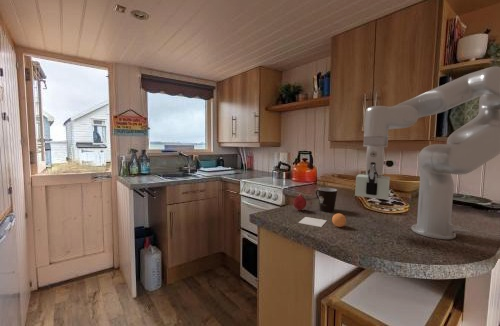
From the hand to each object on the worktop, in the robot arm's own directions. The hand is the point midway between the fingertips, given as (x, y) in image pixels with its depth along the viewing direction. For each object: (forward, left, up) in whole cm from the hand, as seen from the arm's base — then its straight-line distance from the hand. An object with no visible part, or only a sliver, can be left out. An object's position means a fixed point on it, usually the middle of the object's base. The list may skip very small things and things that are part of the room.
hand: (372, 192), depth 85 cm
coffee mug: (+21, -22, -15) cm, 34 cm away
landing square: (+21, 0, -15) cm, 25 cm away
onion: (+31, -13, -15) cm, 37 cm away
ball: (+11, 0, -12) cm, 16 cm away
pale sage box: (0, 0, -1) cm, 1 cm away
